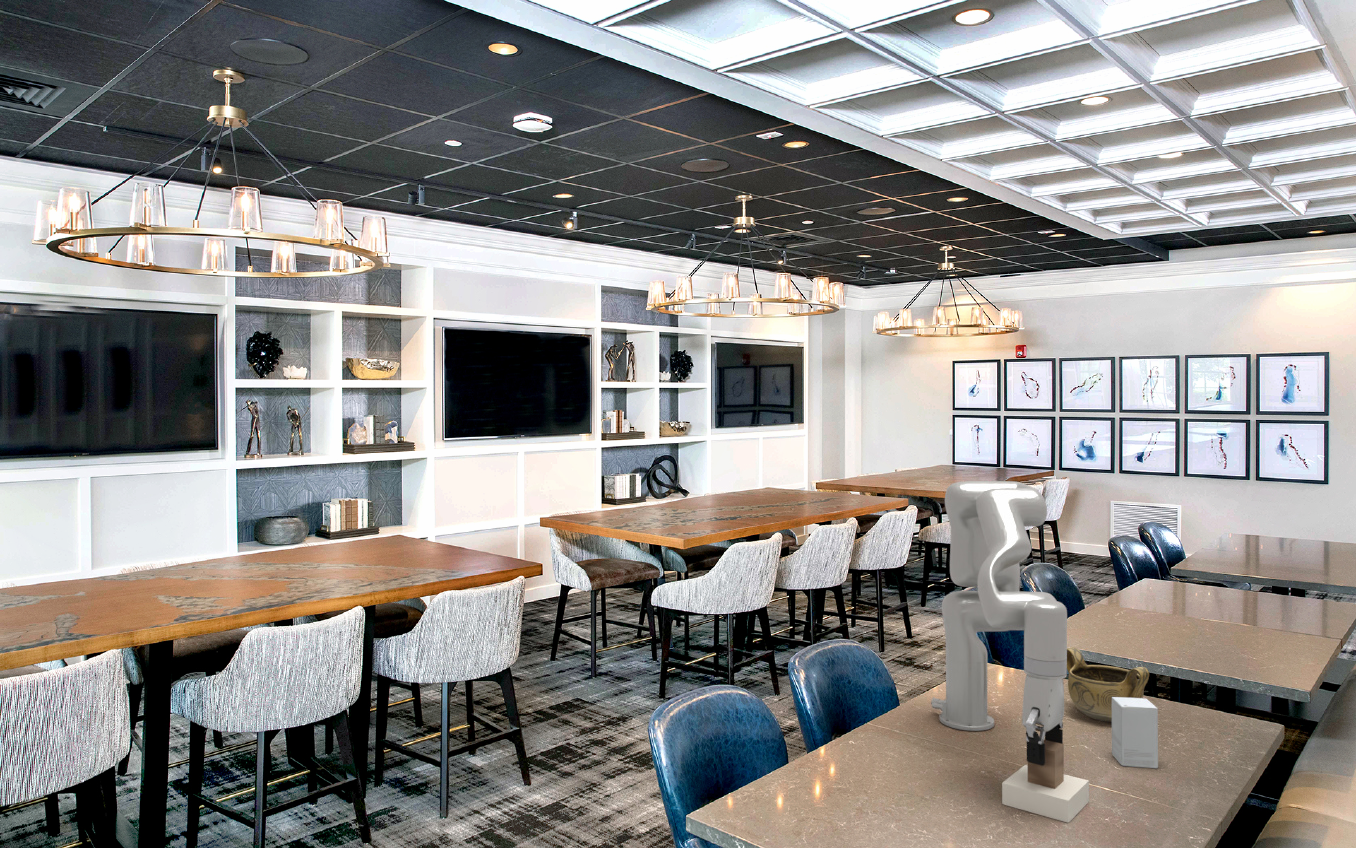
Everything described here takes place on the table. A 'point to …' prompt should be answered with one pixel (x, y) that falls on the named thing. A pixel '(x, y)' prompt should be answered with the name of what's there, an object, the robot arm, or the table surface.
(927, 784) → the table surface
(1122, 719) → the supplement box
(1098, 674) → the ceramic bowl
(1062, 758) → the walnut block
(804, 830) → the table surface
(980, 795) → the table surface
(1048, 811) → the base
